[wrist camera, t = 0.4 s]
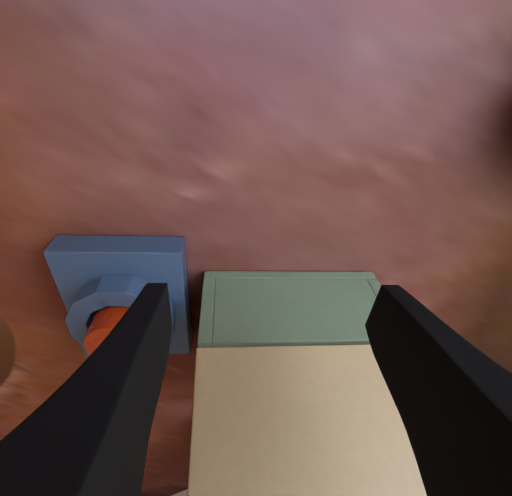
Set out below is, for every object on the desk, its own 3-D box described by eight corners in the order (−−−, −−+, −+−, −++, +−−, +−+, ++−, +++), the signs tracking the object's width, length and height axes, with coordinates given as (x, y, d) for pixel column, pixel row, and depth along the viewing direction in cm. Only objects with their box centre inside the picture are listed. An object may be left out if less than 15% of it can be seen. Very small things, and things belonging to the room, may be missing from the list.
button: (153, 342, 22) (148, 364, 21) (99, 343, 22) (90, 365, 20) (146, 305, 20) (140, 327, 18) (86, 306, 20) (75, 328, 18)
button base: (192, 335, 27) (188, 372, 24) (93, 336, 26) (76, 375, 23) (184, 236, 21) (177, 269, 18) (56, 234, 20) (27, 269, 17)
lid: (501, 621, 13) (515, 629, 12) (179, 657, 11) (176, 668, 11) (412, 346, 19) (418, 343, 18) (197, 351, 17) (196, 347, 17)
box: (342, 353, 30) (367, 423, 25) (207, 357, 28) (203, 430, 23) (372, 271, 24) (412, 339, 19) (204, 270, 23) (197, 343, 18)
